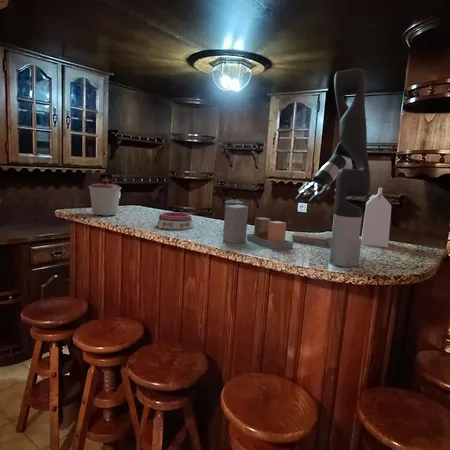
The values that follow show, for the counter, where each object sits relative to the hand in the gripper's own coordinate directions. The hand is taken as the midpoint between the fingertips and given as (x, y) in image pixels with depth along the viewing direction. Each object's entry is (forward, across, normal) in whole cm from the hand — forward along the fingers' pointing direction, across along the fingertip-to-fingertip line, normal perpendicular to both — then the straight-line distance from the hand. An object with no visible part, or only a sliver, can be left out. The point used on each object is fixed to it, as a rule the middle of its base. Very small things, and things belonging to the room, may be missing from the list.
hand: (303, 202), depth 156 cm
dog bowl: (+39, -55, -11) cm, 68 cm away
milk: (-15, +5, +42) cm, 45 cm away
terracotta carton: (+22, 0, +4) cm, 22 cm away
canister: (+58, -100, -29) cm, 119 cm away
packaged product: (+9, -2, +19) cm, 21 cm away
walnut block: (+22, -10, +4) cm, 24 cm away
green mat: (+29, -2, -3) cm, 29 cm away
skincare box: (+31, -13, -4) cm, 34 cm away
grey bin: (+22, -5, +4) cm, 23 cm away
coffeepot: (+23, -36, +5) cm, 43 cm away
